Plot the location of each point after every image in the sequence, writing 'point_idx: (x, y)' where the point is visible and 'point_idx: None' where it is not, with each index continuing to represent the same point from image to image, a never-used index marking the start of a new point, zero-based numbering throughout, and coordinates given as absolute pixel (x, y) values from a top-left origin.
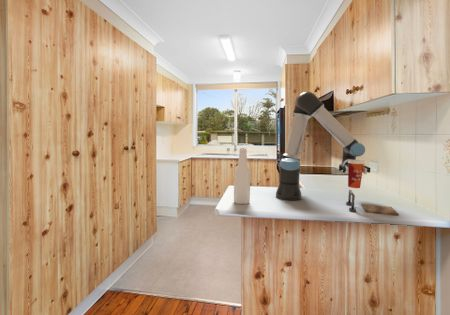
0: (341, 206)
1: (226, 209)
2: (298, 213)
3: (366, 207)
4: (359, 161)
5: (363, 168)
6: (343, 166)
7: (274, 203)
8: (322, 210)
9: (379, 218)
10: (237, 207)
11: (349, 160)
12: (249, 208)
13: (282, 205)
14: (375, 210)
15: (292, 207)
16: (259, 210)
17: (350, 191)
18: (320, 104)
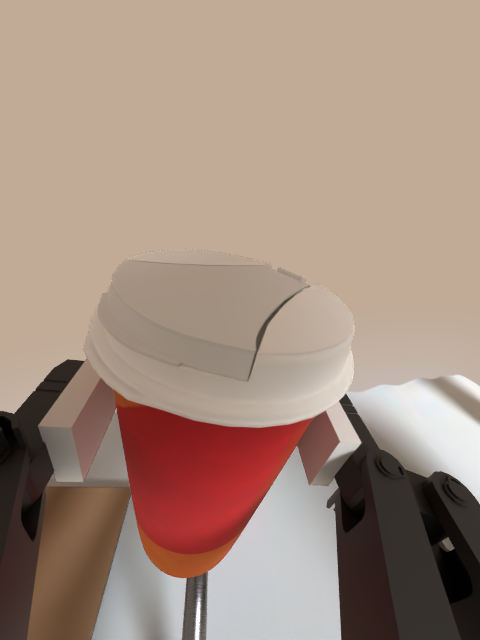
0: (240, 588)
1: (459, 379)
2: None
3: (87, 576)
4: (205, 253)
5: (98, 393)
6: (395, 465)
7: (476, 478)
8: None
9: (117, 414)
10: (467, 397)
11: (324, 290)
12: (446, 397)
13: (435, 459)
14: (71, 505)
15: (395, 445)
16: (418, 389)
17: (204, 581)
18: None
